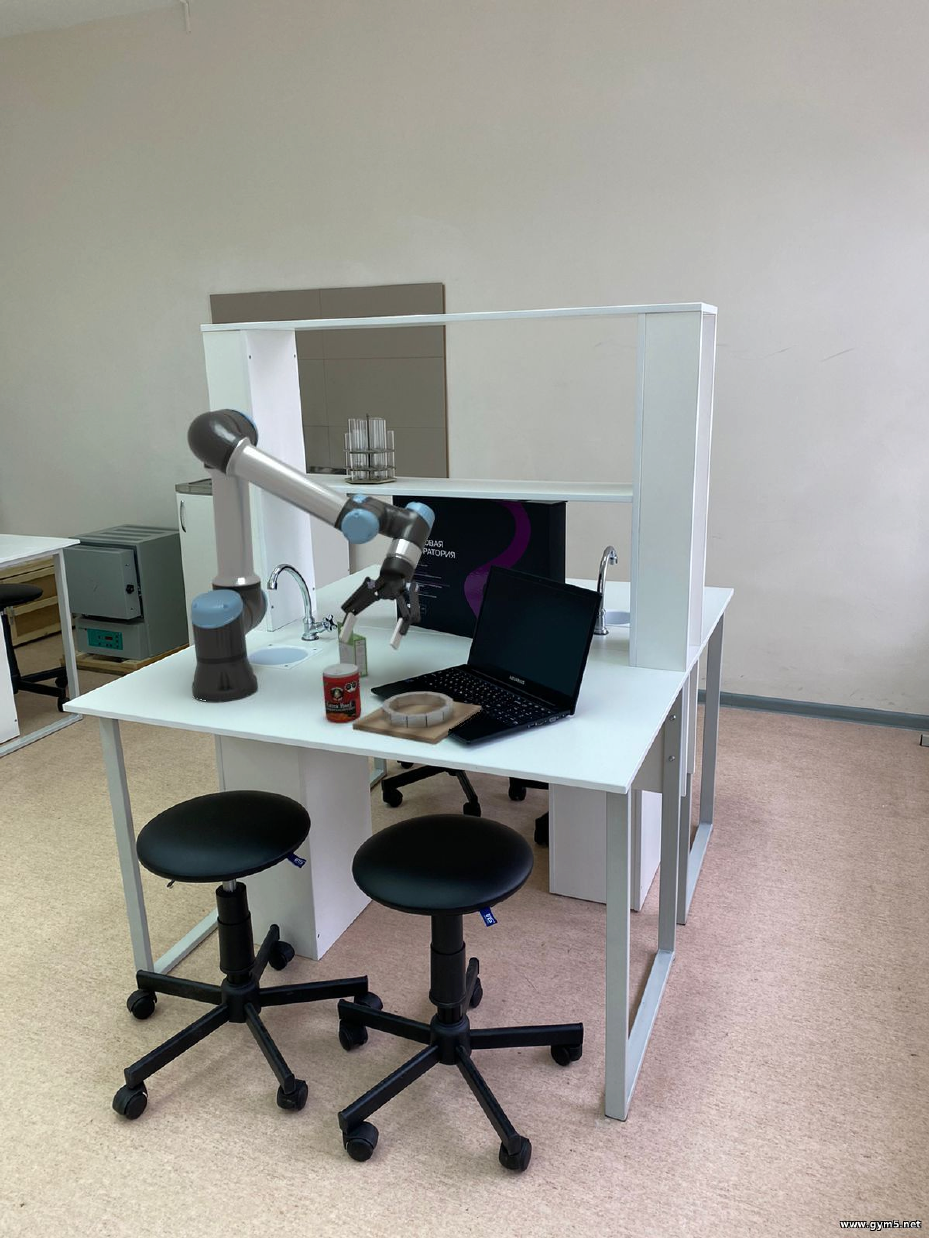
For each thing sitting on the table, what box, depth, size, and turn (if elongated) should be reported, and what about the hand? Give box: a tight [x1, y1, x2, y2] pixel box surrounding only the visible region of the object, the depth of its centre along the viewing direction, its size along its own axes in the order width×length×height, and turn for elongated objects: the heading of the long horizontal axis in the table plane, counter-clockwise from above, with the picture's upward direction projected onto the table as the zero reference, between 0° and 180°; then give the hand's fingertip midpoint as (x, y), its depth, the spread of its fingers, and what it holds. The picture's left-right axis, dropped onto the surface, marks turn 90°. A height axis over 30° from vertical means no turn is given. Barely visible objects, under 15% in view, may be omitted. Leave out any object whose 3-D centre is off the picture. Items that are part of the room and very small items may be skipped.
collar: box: [381, 691, 454, 728], centre depth 202 cm, size 15×15×2 cm
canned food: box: [322, 663, 362, 724], centre depth 205 cm, size 8×8×11 cm
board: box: [352, 701, 483, 745], centre depth 202 cm, size 20×20×1 cm
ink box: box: [336, 621, 369, 678], centre depth 232 cm, size 7×4×13 cm, turn 40°
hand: (367, 643), depth 211 cm, fingers open, 13 cm apart
